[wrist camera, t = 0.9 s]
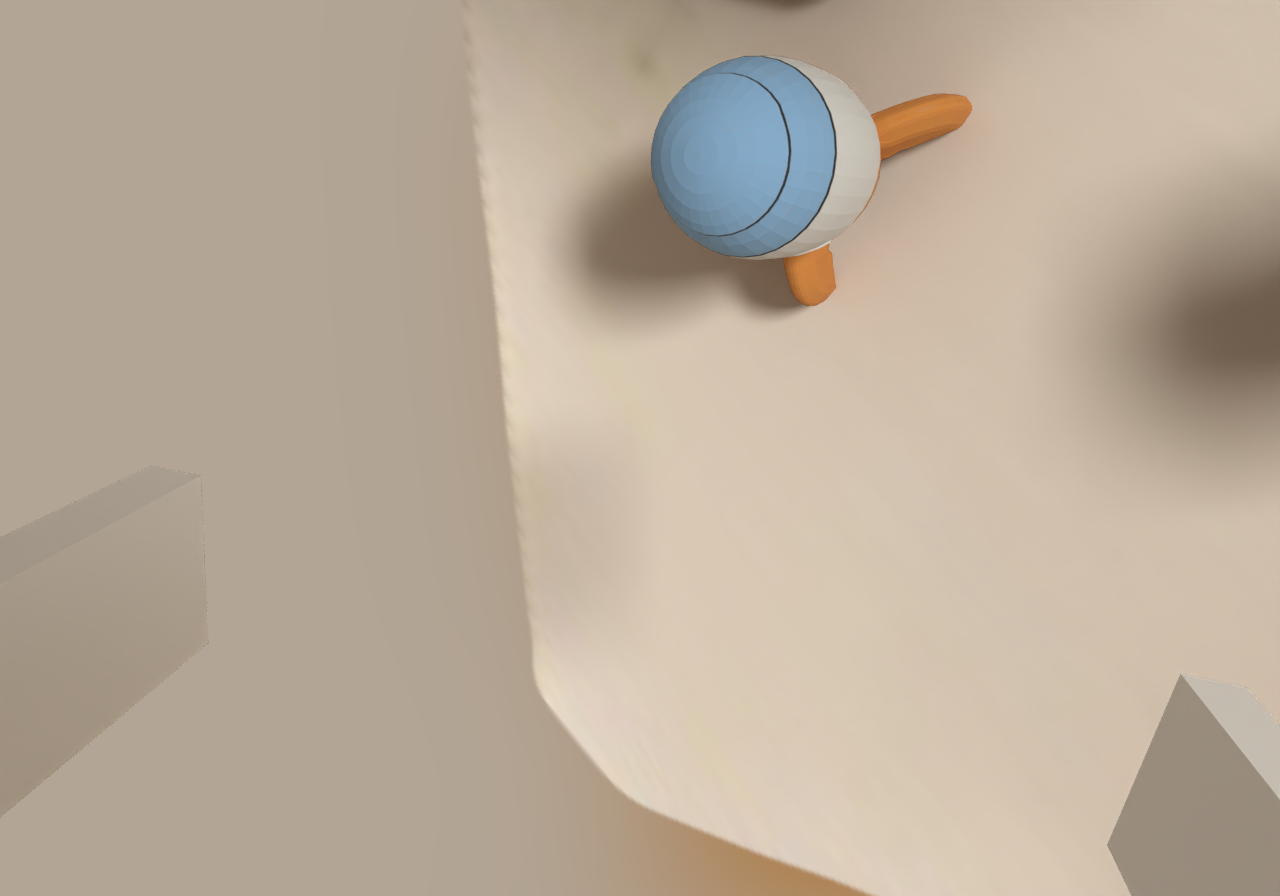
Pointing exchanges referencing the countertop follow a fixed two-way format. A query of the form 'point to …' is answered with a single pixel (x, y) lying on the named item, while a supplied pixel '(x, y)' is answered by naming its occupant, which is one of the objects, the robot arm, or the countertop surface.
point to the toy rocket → (781, 160)
